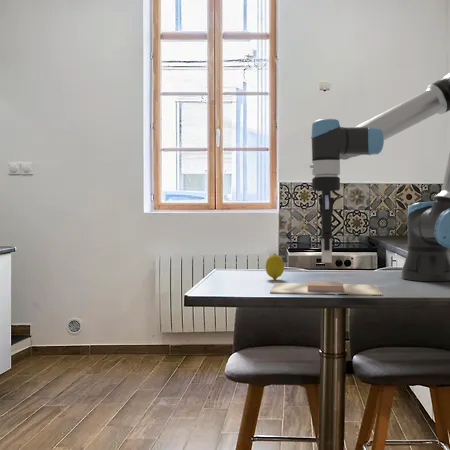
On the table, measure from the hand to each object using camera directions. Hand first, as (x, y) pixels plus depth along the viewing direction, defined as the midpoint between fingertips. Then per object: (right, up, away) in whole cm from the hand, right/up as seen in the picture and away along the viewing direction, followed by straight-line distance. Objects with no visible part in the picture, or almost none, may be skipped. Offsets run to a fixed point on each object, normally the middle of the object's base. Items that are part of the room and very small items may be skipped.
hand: (326, 262), depth 162 cm
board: (-1, -7, -5) cm, 9 cm away
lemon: (-13, -7, +17) cm, 22 cm away
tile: (-1, -6, -3) cm, 7 cm away
